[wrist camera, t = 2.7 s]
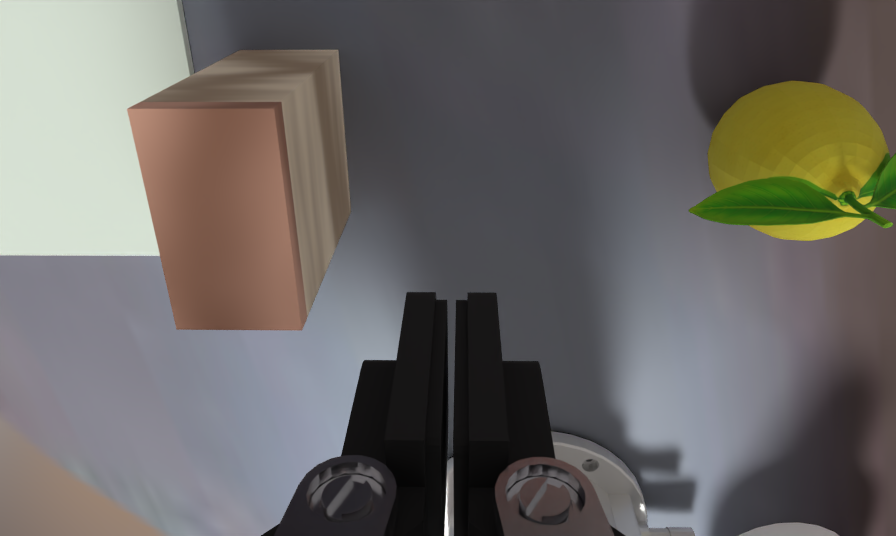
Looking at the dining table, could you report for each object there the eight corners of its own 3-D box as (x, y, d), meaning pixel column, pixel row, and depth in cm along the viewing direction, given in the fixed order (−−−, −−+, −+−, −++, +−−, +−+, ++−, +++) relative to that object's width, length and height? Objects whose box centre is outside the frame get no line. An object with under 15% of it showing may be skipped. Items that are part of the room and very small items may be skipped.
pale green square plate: (181, -3, 26) (175, -2, 25) (225, 251, 31) (222, 256, 30) (-95, -2, 26) (-105, -1, 26) (-7, 250, 31) (-13, 255, 31)
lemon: (640, 151, 28) (721, 252, 19) (737, 27, 26) (878, 78, 17) (757, 228, 30) (883, 356, 21) (859, 118, 27) (1048, 208, 18)
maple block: (338, 49, 27) (273, 108, 18) (351, 211, 30) (301, 330, 21) (239, 49, 27) (126, 109, 18) (263, 211, 30) (176, 329, 21)
